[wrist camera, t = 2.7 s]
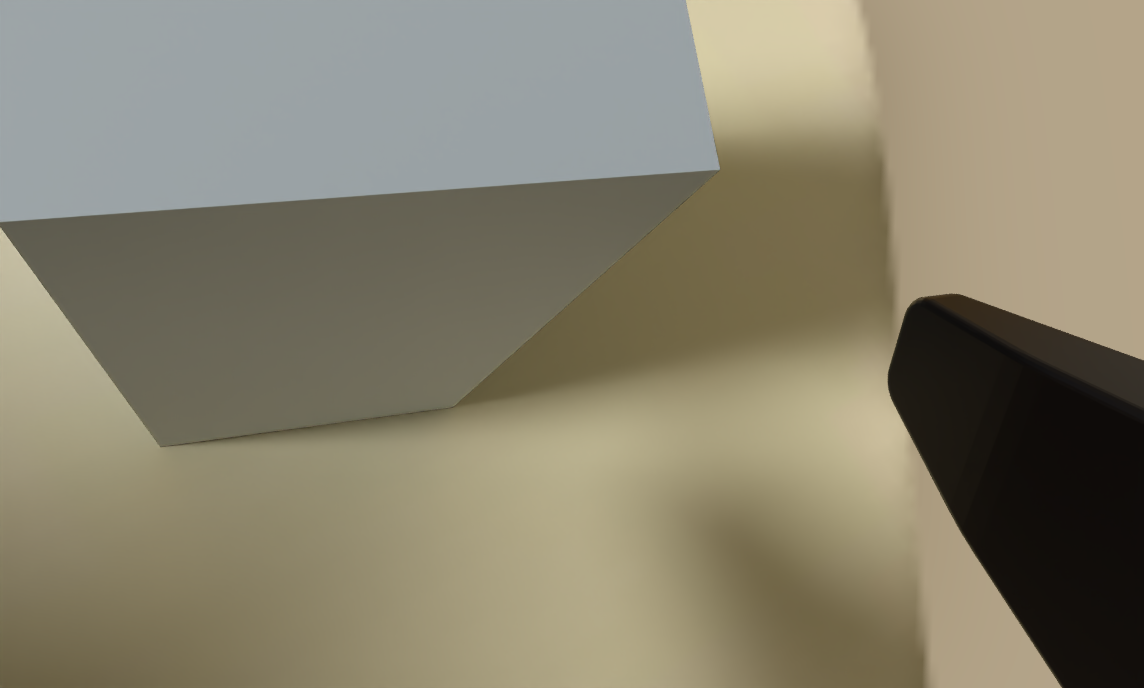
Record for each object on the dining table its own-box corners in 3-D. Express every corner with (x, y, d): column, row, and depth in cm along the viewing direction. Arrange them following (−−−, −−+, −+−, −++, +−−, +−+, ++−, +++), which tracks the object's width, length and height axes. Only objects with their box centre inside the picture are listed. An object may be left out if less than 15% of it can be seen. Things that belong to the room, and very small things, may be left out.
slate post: (452, 407, 20) (720, 170, 8) (160, 447, 18) (-4, 222, 7) (412, 147, 20) (605, -392, 9) (129, 164, 19) (-61, -457, 8)
